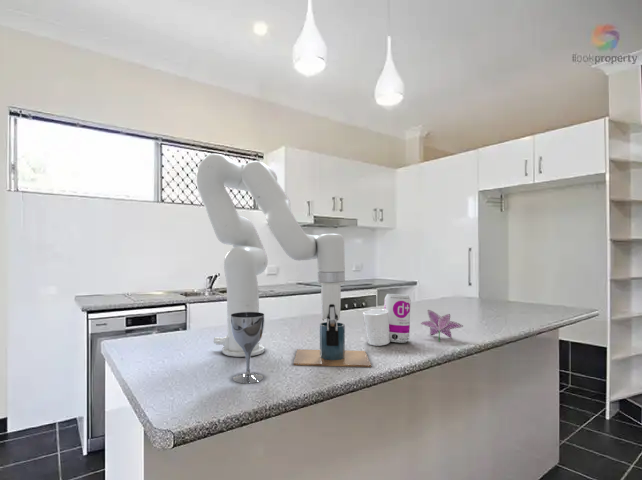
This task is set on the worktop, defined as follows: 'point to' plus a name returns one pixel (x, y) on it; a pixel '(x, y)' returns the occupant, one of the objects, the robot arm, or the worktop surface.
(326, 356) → the cup
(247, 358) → the wine glass
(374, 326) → the white cup
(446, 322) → the lily
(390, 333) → the supplement can
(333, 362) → the placemat
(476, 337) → the worktop surface
